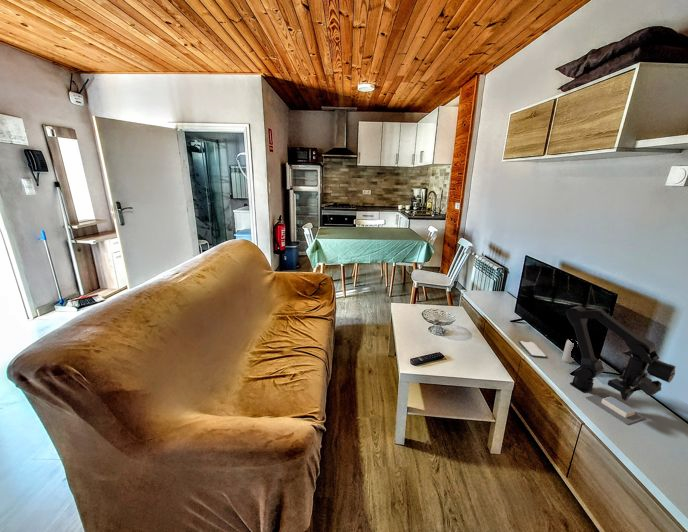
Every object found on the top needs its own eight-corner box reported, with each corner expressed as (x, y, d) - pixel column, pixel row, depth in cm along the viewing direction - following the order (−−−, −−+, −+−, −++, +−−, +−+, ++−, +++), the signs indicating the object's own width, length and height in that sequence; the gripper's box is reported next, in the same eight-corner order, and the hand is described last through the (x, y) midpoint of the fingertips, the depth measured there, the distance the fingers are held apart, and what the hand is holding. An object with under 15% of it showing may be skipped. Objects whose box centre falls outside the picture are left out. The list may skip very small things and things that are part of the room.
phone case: (547, 359, 165) (532, 344, 180) (548, 356, 165) (533, 341, 180) (530, 358, 166) (517, 342, 181) (531, 355, 165) (518, 340, 181)
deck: (610, 400, 133) (601, 402, 131) (611, 396, 133) (602, 398, 131) (634, 414, 125) (625, 417, 123) (635, 410, 124) (626, 413, 122)
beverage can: (559, 359, 164) (565, 340, 161) (564, 357, 166) (569, 338, 163) (569, 364, 160) (575, 344, 157) (573, 362, 163) (579, 342, 159)
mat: (585, 398, 134) (585, 397, 134) (603, 393, 138) (603, 392, 138) (627, 424, 120) (627, 423, 120) (645, 418, 124) (646, 417, 124)
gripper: (645, 384, 113) (632, 418, 117) (674, 376, 119) (661, 408, 123) (612, 367, 123) (601, 398, 128) (640, 360, 129) (629, 391, 134)
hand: (624, 399), depth 128 cm, fingers closed
